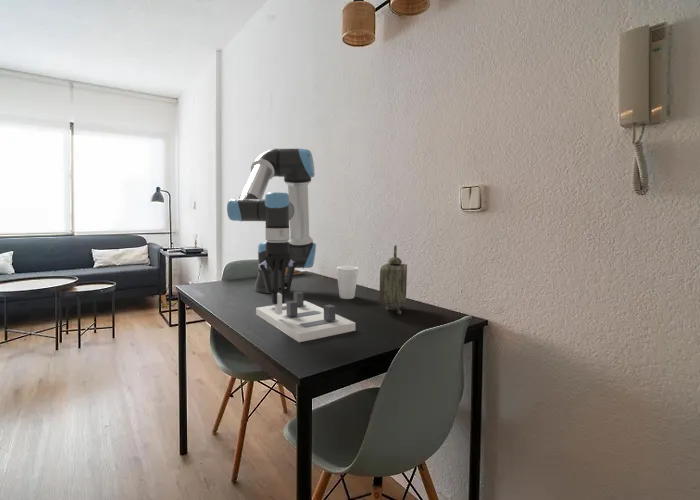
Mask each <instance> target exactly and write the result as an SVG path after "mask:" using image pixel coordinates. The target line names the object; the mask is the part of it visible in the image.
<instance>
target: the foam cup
mask: <svg viewBox="0 0 700 500" xmlns="http://www.w3.org/2000/svg"><path fill="white" fill-rule="evenodd" d="M358 274H359V267H358V266H352V265H342V266H341V265H340V266H337V267H336V278H337V284H338V285H337V286H338V295H339V299H344V300H351V299H354V298H355V296H356V294H355V293H356V288H357V281H358Z"/></svg>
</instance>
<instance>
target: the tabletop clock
mask: <svg viewBox="0 0 700 500" xmlns="http://www.w3.org/2000/svg"><path fill="white" fill-rule="evenodd" d="M397 250H398V249H397V245H396V244H395V245H394V247H393V256H392V257H390V258H389V260H388V261H387V263H385V264H383V265H382V266H381V268H380V269H379V270H380V271H379V301H381V302H382V303H384V304H387V305H386V306H385V310H386V311H389V310H390V309H391V306H390V305H391V304H394V306H395V307H396V314H397V315H401V314H402V311H401V309H400V308H403V307H404V305H405V304H406V299H407V285H408V283H407V280H408V264H407V263H403V261H402V259H400V257H397V255H398V253H397ZM399 307H400V308H399Z"/></svg>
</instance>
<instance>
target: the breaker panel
mask: <svg viewBox="0 0 700 500" xmlns="http://www.w3.org/2000/svg"><path fill="white" fill-rule="evenodd" d="M255 314H256V316H258V317H259V318H261V319H262V320H264V321H265V322H267V323H268V324H270V325H271V326H273V327H274V328H277V329H278V330H279V331H281V332H283V334H285V335H286V336H288V337H290V338H291V339H293V340H295V341H296V342H297V343H301V342H306V341H312V340H317V339H322V338H326V337H332V336H336V335H341V334H345V333H346V334H347V333H350V332H355V331H356V322H354V321H353V320H351V319H349V318H346V317H344V316H341V315H340V314H336V313H335V320H333V321H327V320H325V319H324V307H321V306H318V305H316V304H314V303H312V302H309V301H307V300H303V305H302V306H297V316H292V317H290V316H288V315H287V302H286V303H282V314H279V315H278V314H276V313H275V304H272V305H266V306H265V305H264V306H260V307H256V308H255Z"/></svg>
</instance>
